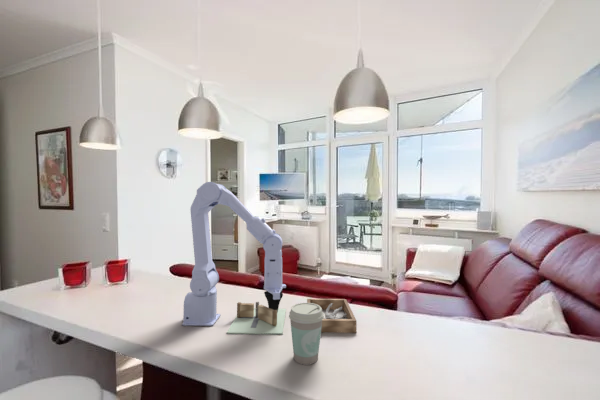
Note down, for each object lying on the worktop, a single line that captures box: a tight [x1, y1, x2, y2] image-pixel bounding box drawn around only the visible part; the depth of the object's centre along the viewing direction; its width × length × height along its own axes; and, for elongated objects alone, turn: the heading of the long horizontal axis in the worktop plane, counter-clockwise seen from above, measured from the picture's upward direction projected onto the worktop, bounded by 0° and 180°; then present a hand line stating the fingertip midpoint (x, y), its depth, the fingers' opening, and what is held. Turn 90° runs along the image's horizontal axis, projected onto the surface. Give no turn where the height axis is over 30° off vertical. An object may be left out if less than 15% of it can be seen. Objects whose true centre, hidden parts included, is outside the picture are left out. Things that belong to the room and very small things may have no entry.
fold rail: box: [258, 304, 277, 326], centre depth 83 cm, size 8×1×4 cm, turn 47°
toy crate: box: [306, 298, 357, 334], centre depth 87 cm, size 14×18×4 cm
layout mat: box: [226, 307, 287, 335], centre depth 86 cm, size 16×18×1 cm
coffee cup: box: [288, 302, 325, 366], centre depth 65 cm, size 8×8×12 cm
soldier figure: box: [323, 303, 347, 319], centre depth 84 cm, size 8×5×12 cm
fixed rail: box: [236, 301, 260, 318], centre depth 87 cm, size 7×1×5 cm, turn 90°
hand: (273, 314), depth 85 cm, fingers closed
